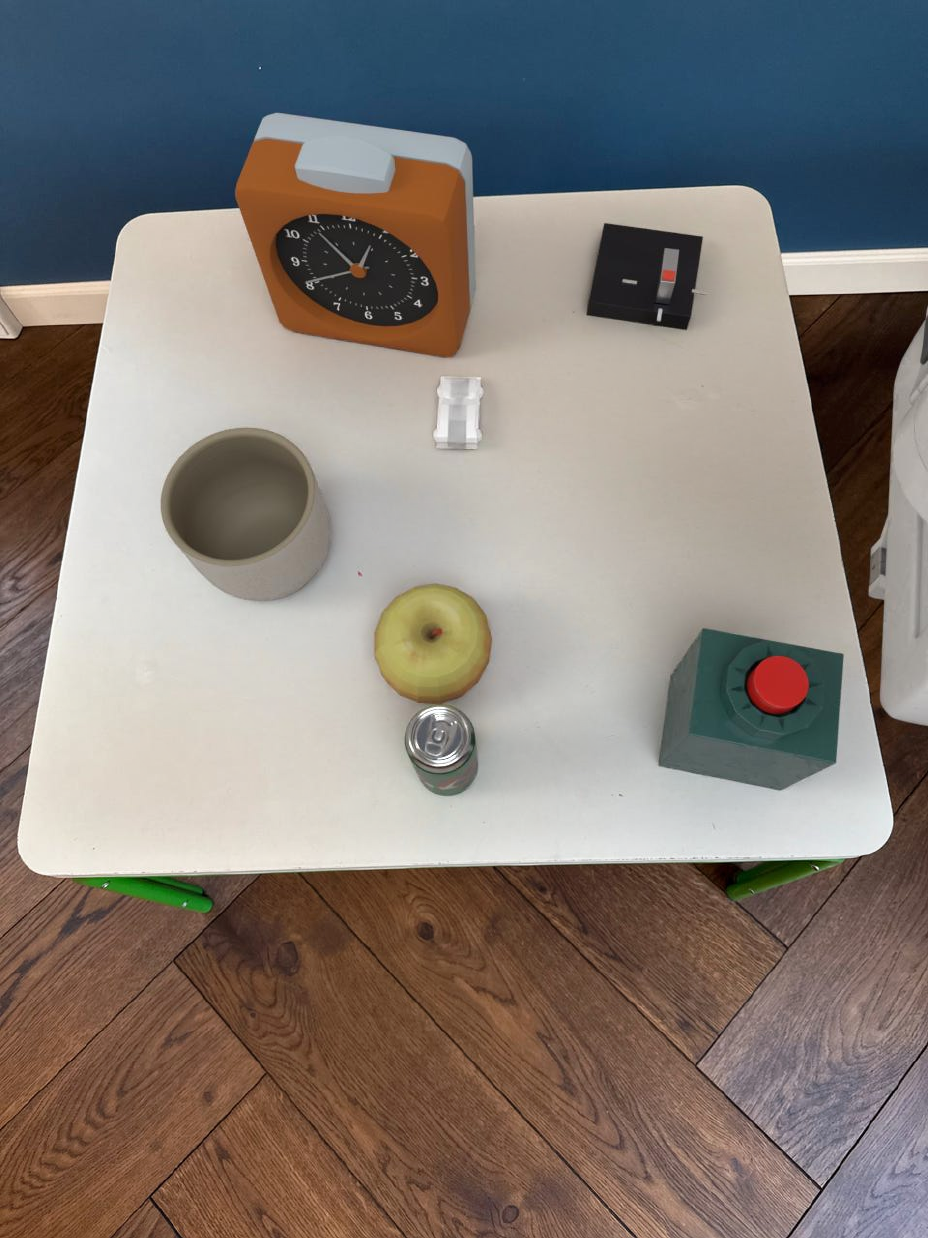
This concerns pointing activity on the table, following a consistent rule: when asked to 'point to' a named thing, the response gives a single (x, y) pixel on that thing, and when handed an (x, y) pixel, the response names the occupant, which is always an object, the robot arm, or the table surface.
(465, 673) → the apple
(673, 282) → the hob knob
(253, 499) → the planter
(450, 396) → the toy car
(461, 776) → the soda can
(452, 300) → the alarm clock
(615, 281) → the black flat square piece
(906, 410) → the robot arm
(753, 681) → the button
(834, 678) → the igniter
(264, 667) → the table surface
